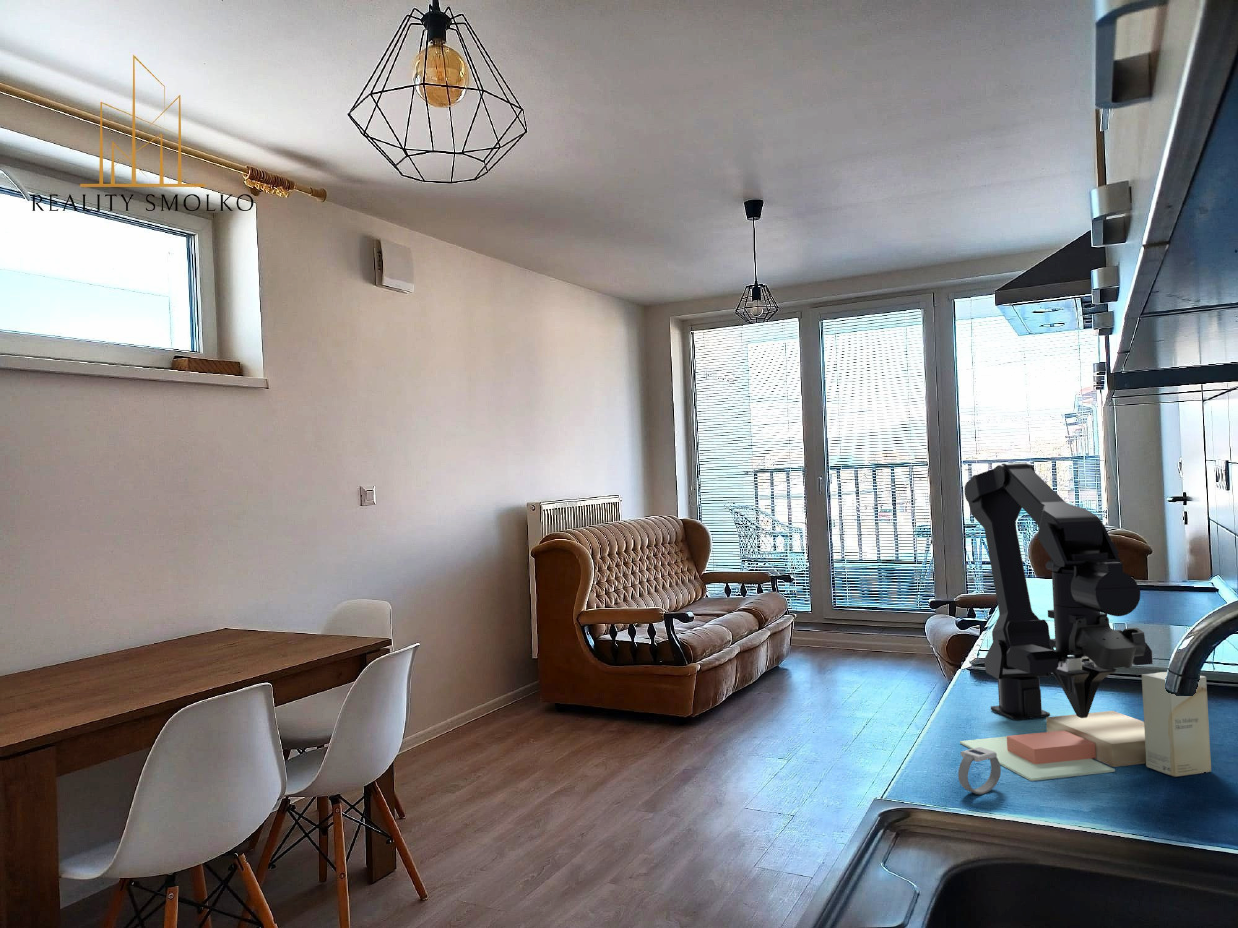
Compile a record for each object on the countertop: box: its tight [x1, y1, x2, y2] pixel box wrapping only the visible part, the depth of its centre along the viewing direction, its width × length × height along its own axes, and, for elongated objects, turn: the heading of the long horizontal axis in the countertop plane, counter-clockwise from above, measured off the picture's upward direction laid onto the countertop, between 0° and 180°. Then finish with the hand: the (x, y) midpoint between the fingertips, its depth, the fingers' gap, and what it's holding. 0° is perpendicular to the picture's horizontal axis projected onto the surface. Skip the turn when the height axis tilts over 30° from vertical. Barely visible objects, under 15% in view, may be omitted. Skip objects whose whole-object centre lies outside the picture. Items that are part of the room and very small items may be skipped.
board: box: [1045, 710, 1146, 768], centre depth 119 cm, size 13×11×3 cm
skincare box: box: [1141, 671, 1212, 777], centre depth 110 cm, size 6×4×12 cm
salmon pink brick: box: [1006, 730, 1096, 764], centre depth 116 cm, size 9×6×2 cm, turn 99°
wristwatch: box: [957, 747, 1002, 795], centre depth 105 cm, size 6×3×5 cm, turn 117°
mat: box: [959, 735, 1116, 782], centre depth 116 cm, size 16×12×1 cm
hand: (1082, 717), depth 118 cm, fingers closed
